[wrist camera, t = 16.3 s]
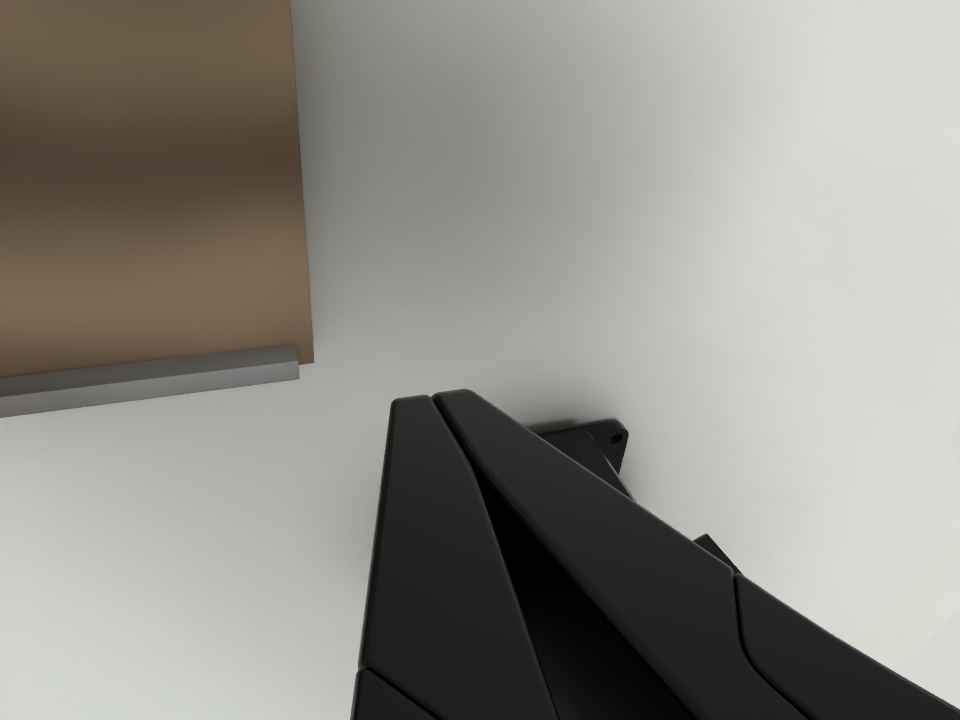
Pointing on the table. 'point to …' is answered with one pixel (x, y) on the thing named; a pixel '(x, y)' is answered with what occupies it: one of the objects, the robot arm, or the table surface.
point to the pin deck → (148, 201)
